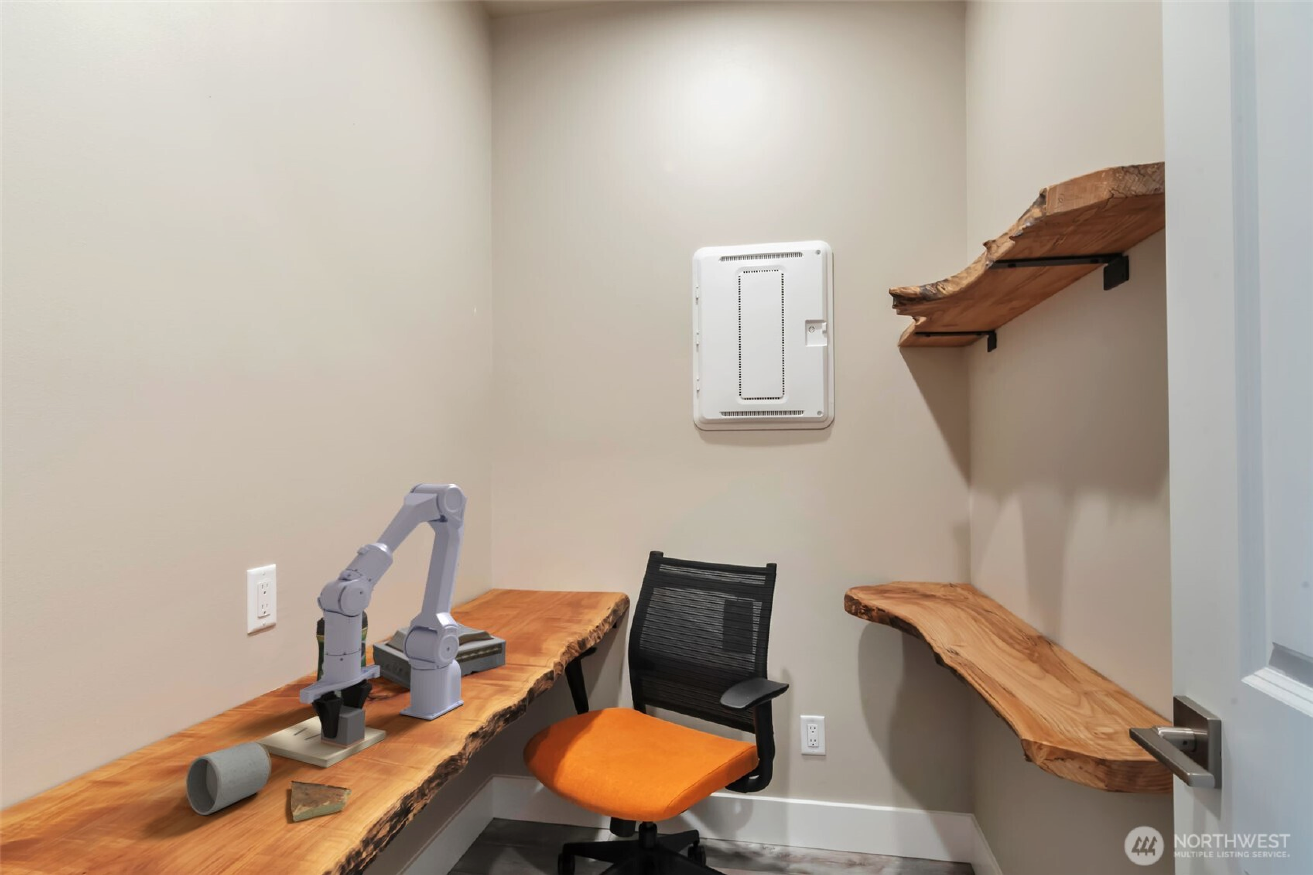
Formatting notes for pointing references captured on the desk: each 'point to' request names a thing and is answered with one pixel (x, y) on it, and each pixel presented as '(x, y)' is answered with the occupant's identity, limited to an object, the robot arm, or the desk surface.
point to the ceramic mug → (227, 776)
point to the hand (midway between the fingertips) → (340, 732)
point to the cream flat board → (314, 743)
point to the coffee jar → (320, 639)
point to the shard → (316, 799)
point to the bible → (472, 656)
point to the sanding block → (348, 728)
